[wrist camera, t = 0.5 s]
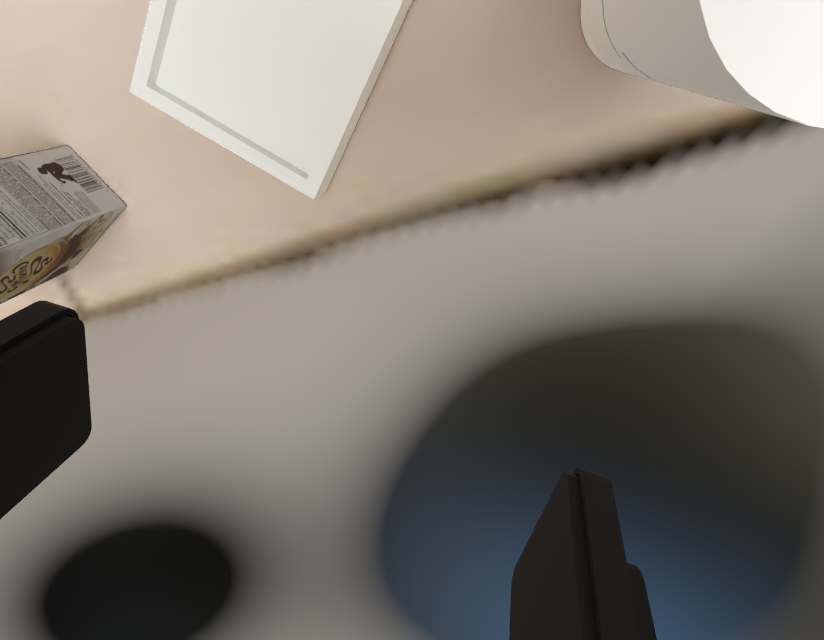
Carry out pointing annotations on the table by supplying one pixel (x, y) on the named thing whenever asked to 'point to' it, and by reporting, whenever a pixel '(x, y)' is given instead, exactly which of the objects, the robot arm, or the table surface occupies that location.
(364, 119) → the table surface
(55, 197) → the coffee box
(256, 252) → the table surface
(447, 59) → the table surface
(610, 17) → the cylindrical container
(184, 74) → the tray
